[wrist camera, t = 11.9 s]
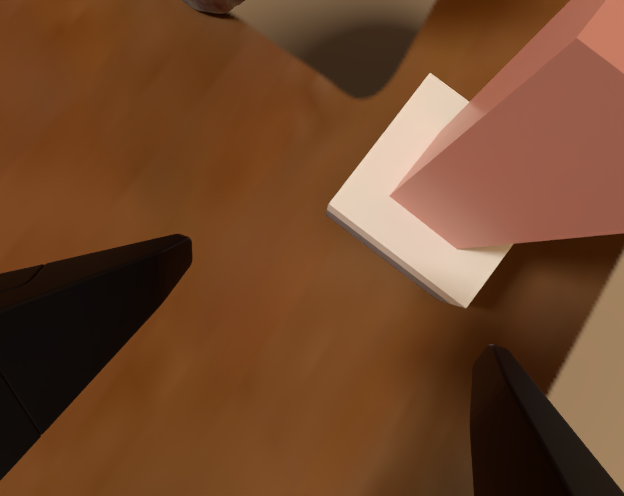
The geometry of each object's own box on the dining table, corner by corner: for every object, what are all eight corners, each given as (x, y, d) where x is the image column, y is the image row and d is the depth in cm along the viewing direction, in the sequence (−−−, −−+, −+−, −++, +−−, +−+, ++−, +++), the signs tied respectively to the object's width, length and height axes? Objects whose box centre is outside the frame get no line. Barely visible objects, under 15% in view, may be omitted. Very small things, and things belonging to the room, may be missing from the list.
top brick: (456, 249, 18) (810, 215, 5) (389, 195, 18) (576, 37, 6) (507, 182, 19) (967, -3, 6) (440, 131, 19) (739, -171, 6)
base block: (437, 300, 22) (466, 308, 18) (325, 214, 22) (328, 203, 18) (520, 189, 23) (565, 173, 19) (409, 105, 23) (430, 72, 19)
